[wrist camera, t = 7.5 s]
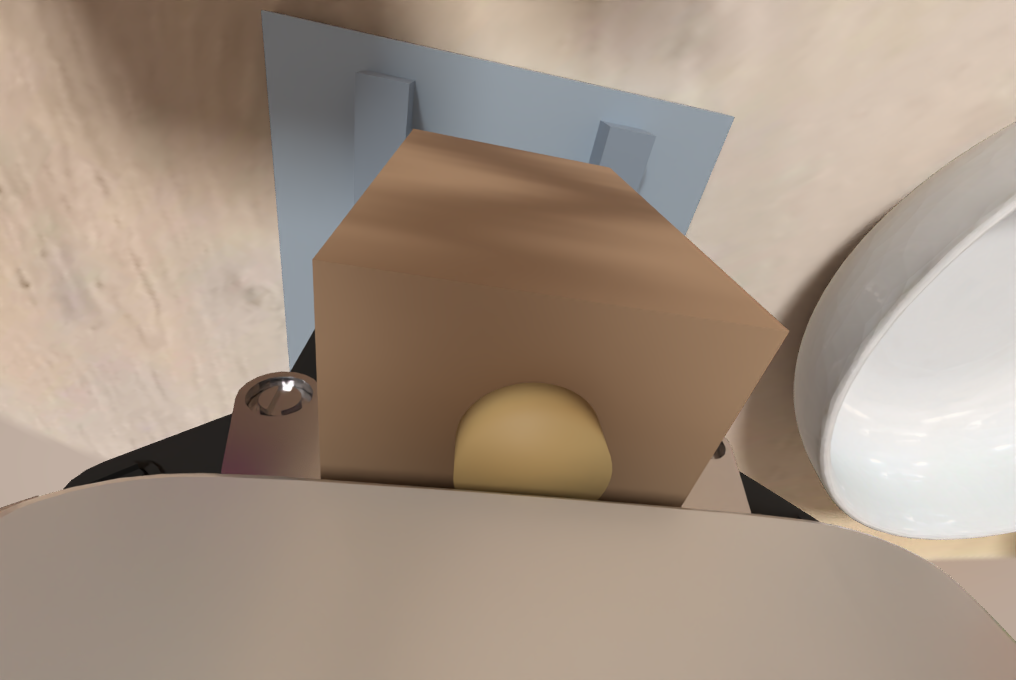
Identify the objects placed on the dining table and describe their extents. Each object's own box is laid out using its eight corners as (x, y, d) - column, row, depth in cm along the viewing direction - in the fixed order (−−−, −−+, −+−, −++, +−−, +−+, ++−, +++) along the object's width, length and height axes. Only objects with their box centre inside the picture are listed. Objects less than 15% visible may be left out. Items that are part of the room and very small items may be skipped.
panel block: (609, 167, 12) (825, 363, 4) (532, 423, 16) (577, 719, 9) (413, 128, 11) (290, 288, 4) (392, 408, 16) (320, 718, 8)
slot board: (722, 113, 17) (849, 149, 11) (577, 471, 28) (604, 586, 22) (273, 12, 15) (136, -11, 9) (302, 445, 25) (249, 567, 19)
